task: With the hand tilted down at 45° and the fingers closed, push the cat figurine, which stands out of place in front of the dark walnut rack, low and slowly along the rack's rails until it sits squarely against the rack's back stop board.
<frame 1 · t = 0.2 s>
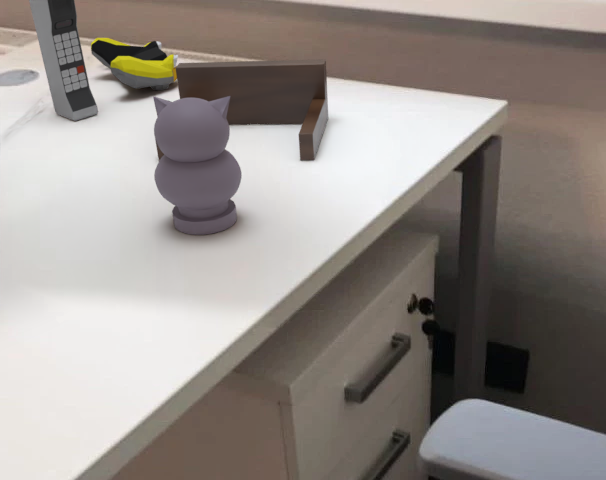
cat figurine: (204, 223, 89), on the table
rack: (254, 124, 110), on the table
vintage mobile phone: (77, 115, 118), on the table
black and yellow sneaker: (140, 84, 127), on the table
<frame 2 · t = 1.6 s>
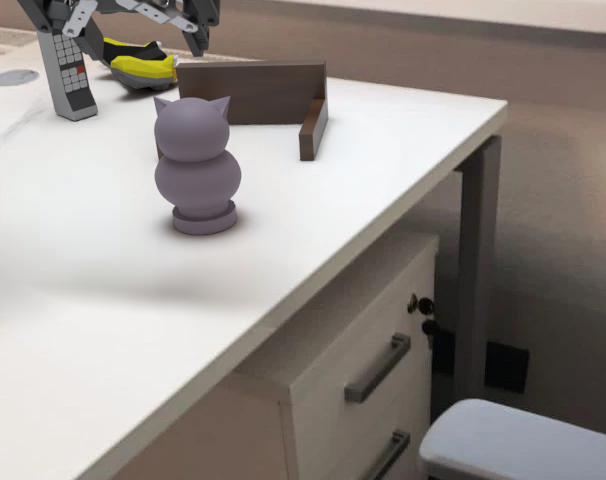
hand: (148, 48, 70), 19 cm above the table, tool tilted 45°, fingers open, 8 cm apart
nothing on the table moved.
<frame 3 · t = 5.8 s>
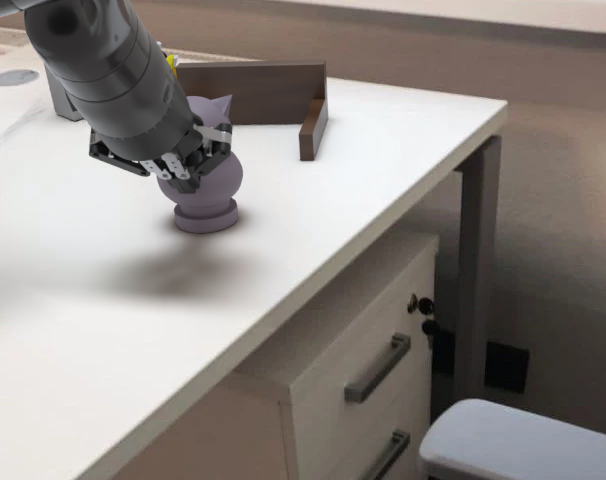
hand: (188, 184, 83), 5 cm above the table, tool tilted 45°, fingers closed
cat figurine: (206, 221, 89), on the table, touching gripper
everything else where it was.
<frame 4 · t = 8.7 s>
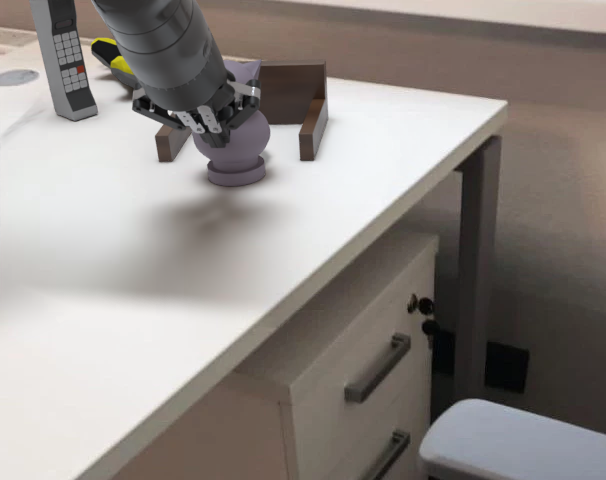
hand: (219, 139, 91), 5 cm above the table, tool tilted 45°, fingers closed
cat figurine: (236, 176, 98), on the table, touching gripper
everything else where it was.
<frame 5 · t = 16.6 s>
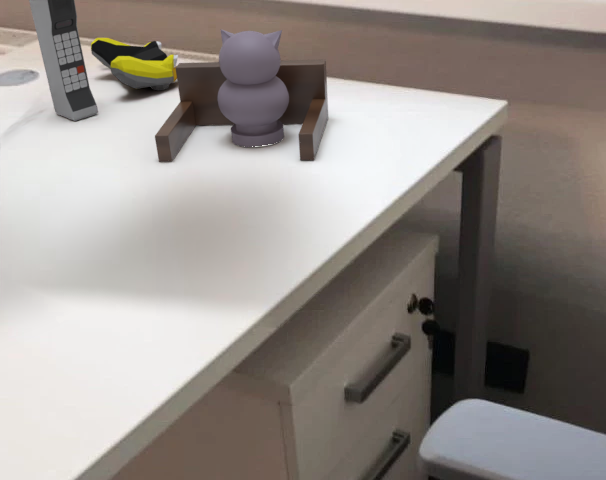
cat figurine: (257, 139, 107), on the table
everything else where it was.
at the end: cat figurine inside the target area on the rack (1.5 cm from its centre), point 0.0 cm above the rack's base; cat figurine tilted 0°; cat figurine moved 23.3 cm from its start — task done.
